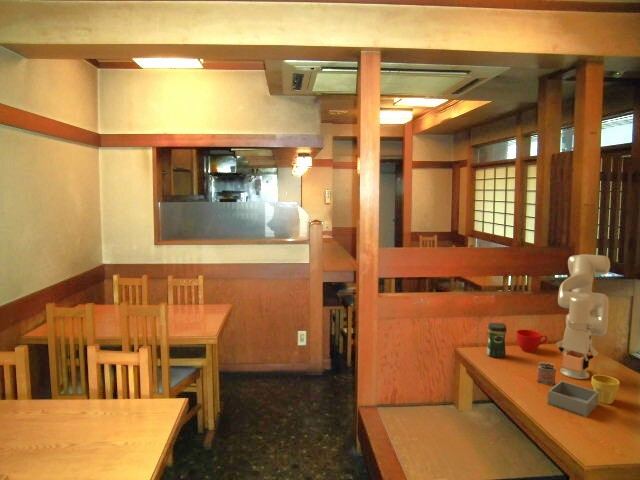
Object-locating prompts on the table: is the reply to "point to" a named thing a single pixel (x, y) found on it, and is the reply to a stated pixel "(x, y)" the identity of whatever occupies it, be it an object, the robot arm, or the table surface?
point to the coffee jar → (496, 340)
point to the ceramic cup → (529, 340)
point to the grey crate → (573, 398)
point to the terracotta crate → (573, 361)
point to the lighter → (546, 373)
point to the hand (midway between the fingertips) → (574, 365)
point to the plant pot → (605, 388)
